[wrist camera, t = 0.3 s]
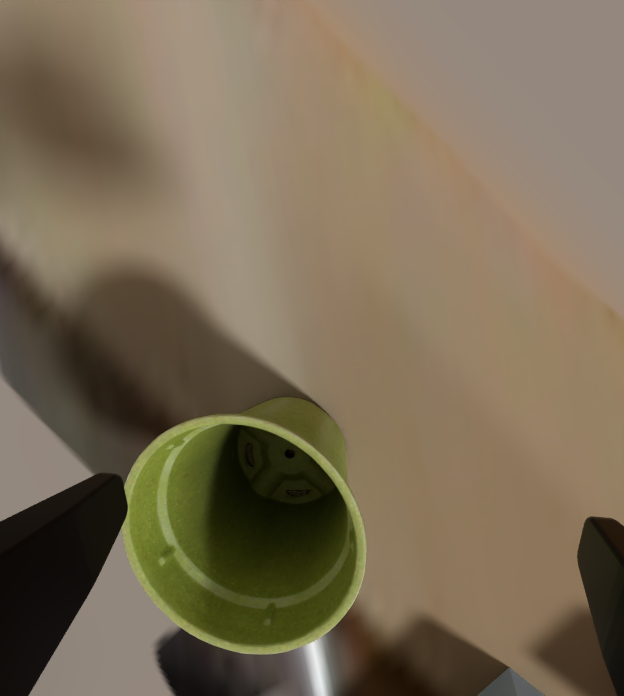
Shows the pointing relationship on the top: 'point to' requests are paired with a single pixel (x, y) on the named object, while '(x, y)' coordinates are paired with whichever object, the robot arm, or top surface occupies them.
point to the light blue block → (510, 686)
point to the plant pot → (248, 527)
